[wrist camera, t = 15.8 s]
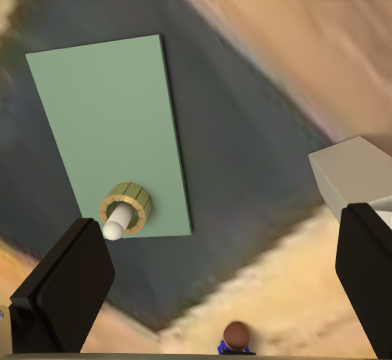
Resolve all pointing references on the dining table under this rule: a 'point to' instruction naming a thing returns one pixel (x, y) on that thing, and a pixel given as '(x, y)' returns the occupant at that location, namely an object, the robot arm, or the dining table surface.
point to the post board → (116, 129)
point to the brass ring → (130, 195)
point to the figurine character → (235, 341)
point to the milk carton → (354, 176)
